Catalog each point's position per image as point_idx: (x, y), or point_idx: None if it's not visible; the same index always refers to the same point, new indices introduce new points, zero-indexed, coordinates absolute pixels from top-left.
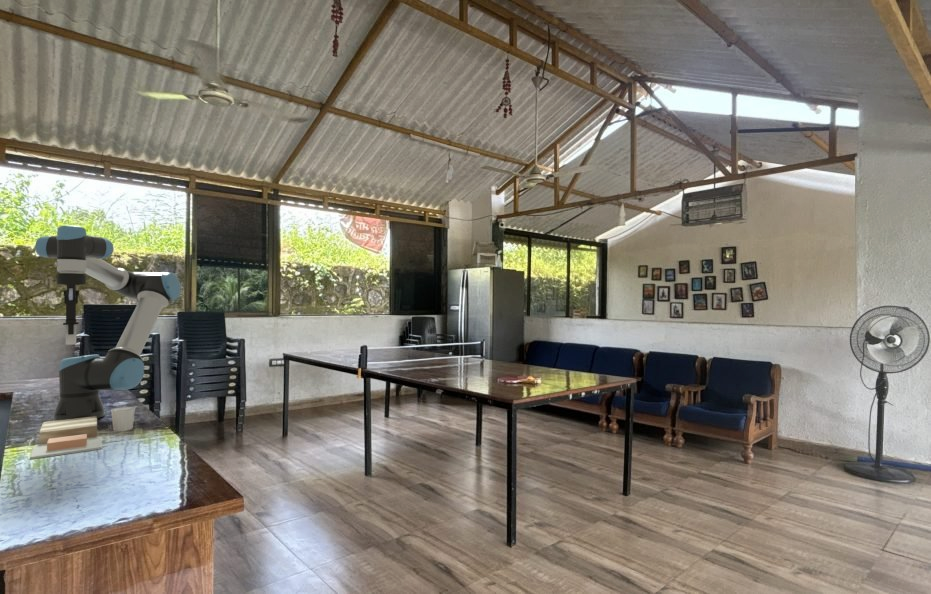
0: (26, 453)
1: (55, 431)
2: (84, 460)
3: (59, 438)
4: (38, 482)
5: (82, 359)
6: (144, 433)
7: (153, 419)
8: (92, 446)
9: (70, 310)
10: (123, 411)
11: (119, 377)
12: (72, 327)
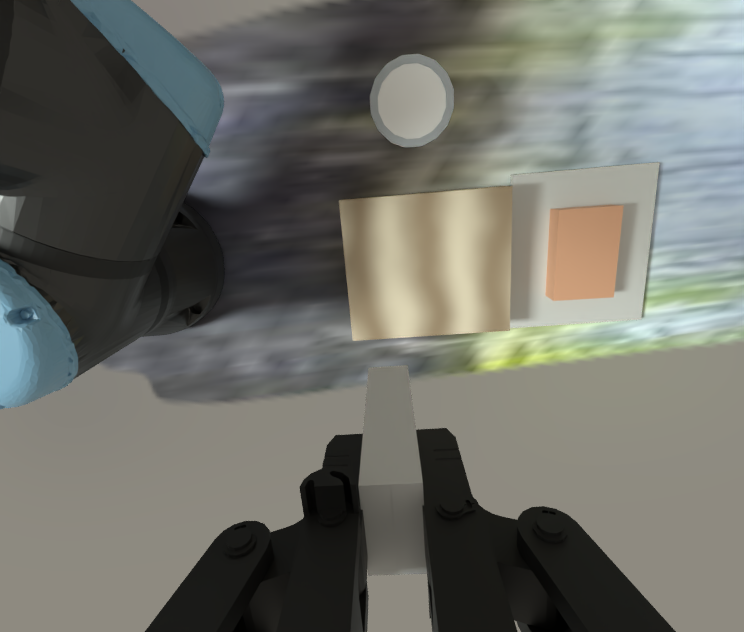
0: (565, 333)
1: (509, 293)
2: None
3: (571, 275)
4: None
5: (40, 311)
6: (527, 40)
7: (297, 9)
8: (634, 187)
9: None
10: (453, 99)
11: (219, 103)
12: (465, 488)
